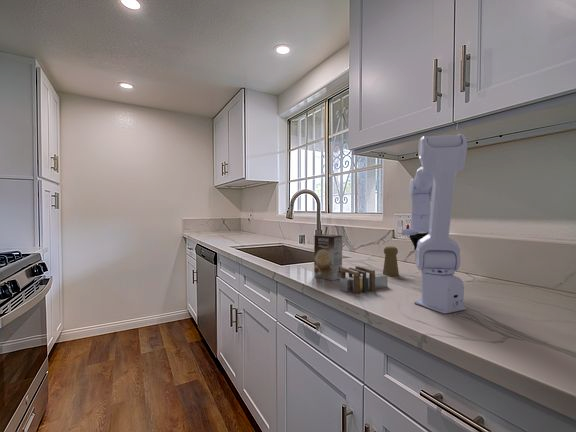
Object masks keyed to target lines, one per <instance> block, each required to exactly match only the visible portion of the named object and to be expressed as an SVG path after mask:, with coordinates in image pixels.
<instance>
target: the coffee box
mask: <svg viewBox="0 0 576 432" xmlns="http://www.w3.org/2000/svg"><path fill="white" fill-rule="evenodd" d="M313 237H314V241H313V243H314V245H313V246H314V248H313V251H314V254H313V258H314V259H313V260H314V261H313V262H314V263H313V265H314V266H313V272H314V273H313V277H314V278H319V279H324V280H329V281H337V280H340V268H341V267H343V235H339V234H337V235H335V234H325V233H323V234H322V233H321V234H316V235H315V234H314V236H313Z"/></svg>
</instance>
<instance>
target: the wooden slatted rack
mask: <svg viewBox="0 0 576 432" xmlns="http://www.w3.org/2000/svg"><path fill="white" fill-rule="evenodd" d="M346 274H348V277H351V276H354V292H353V293H354V294H355V295H357V294H360V291H359V276H361V275H363V291H362V293H367V290H366V275H367V274H368V275H369V290H368V291H370V292H376V289H375V274H376V270H374V269H371V268H367V267H365V266H364V267H363V266H360V265H355V268H354V267H345V266H342V267H341V268H340V278H343V277H347V276H346ZM340 278H339V279H340Z"/></svg>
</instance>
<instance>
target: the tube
mask: <svg viewBox="0 0 576 432" xmlns="http://www.w3.org/2000/svg"><path fill="white" fill-rule="evenodd" d="M388 277H389V276H387V275H384V274H383V273H379V272H378V273H375V290H376V289H382V288H383V289H385V288H388V283H389V282H388V279H389V278H388ZM339 290H340V291H343V292H344V293H347V294H349V293H354V275H352V276H351V277H349V276H346V277H343V278H339ZM361 291H362V292H363V274H361V276H359V292H361ZM366 291H369V274H366Z"/></svg>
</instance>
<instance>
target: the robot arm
mask: <svg viewBox="0 0 576 432" xmlns="http://www.w3.org/2000/svg"><path fill="white" fill-rule="evenodd" d="M417 152H418V154H417V155H418V159H419V161H420V164H421V166H420V167H419V168H418V169H417V170H416V172H415V176H414V177H413V178H411V179H410V181H409V186H408V187H409V190H408V191H409V196H410V197H411V201H410V202H411V203H410V204H411V207H410V208H411V212H410V213H411V217H410V218H411V219H410V220H411V221H410V228H404V229H401V235H402V236H405V237H406V236H409V239H410V240H411V243H412V245H413V248H414V251H415V253H414V258H415V259H414V260H415V261H414V262H415V266H416V268H417V269H418V270H420V271H421V299H417V300H414V301H413V303H414V304H416V305H418V306H422V307H425V308H427V309H430V310H432V311H436V312H437V313H441V314H449V313H450V314H451V313H454V312H455V313H456V312H460V311H463V310H466V308H467V307H466V306H465V304H464V303H465V299H464V297H465V287H464V286H465V285H464V281H463V280H462V279H461V278H460V277H458V276H456V274H455V273H456V272H457V271H458V270H459V269H460V266H461V248H460V245H459V243H458V242H457V240H454V239H453V238H452V237H450V230H451V228H450V227H451V222H452V221H451V219H452V211H453V204H454V203H453V201H454V194H455V193H454V192H455V184H456V183H455V182H456V178H457V174H458V172H460V171H462V170H464V169H465V164H466V159H467V152H468V143H467V137H466V136H465V135H464V134H463V133H458V134H451V135H448V134H447V135H434V136H433V135H431V136H430V135H429V136H426V135H423V136H422V137H420V139H419V141H418V150H417Z"/></svg>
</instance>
